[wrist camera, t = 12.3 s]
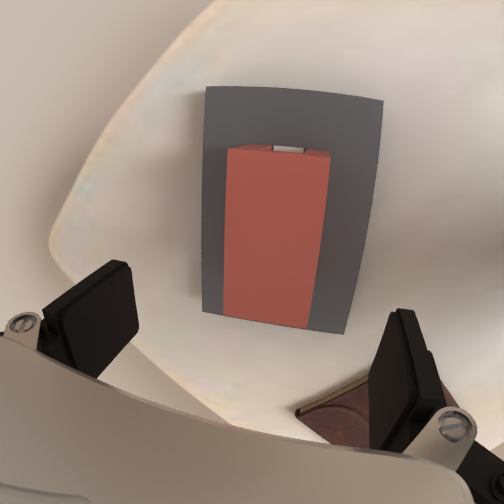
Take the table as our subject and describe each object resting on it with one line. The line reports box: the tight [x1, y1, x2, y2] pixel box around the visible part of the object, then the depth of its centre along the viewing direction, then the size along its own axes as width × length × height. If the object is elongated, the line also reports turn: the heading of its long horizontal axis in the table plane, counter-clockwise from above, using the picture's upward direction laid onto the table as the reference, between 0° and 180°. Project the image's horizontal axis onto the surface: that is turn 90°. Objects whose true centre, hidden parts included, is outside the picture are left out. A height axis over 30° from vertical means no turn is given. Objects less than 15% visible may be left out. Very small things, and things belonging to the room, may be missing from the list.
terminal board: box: [202, 86, 384, 335], centre depth 21 cm, size 12×18×6 cm, turn 176°
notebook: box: [295, 374, 460, 449], centre depth 30 cm, size 15×20×2 cm
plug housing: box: [223, 144, 331, 329], centre depth 20 cm, size 5×10×6 cm, turn 177°
